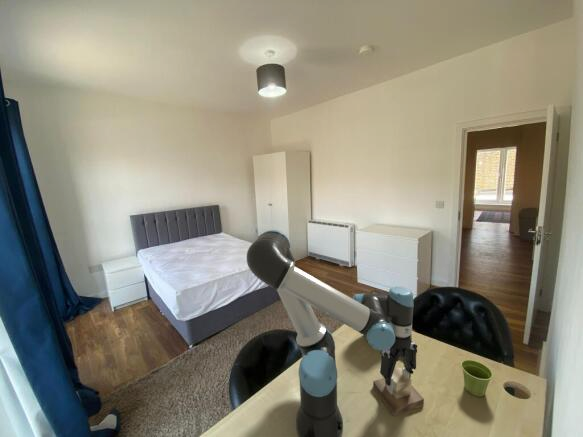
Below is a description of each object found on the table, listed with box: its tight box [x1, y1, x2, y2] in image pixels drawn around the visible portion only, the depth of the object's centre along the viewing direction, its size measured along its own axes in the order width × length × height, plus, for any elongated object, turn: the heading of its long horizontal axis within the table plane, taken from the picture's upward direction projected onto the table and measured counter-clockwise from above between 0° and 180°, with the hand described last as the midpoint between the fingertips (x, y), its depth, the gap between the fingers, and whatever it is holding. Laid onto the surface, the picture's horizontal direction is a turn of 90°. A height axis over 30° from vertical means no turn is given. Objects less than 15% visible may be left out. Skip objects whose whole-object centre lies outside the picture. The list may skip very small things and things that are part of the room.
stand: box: [372, 377, 425, 417], centre depth 91 cm, size 12×12×2 cm
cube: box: [385, 367, 412, 399], centre depth 90 cm, size 6×6×6 cm
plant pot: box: [460, 359, 494, 397], centre depth 91 cm, size 9×9×9 cm
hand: (397, 388), depth 90 cm, fingers closed on cube, 6 cm apart
